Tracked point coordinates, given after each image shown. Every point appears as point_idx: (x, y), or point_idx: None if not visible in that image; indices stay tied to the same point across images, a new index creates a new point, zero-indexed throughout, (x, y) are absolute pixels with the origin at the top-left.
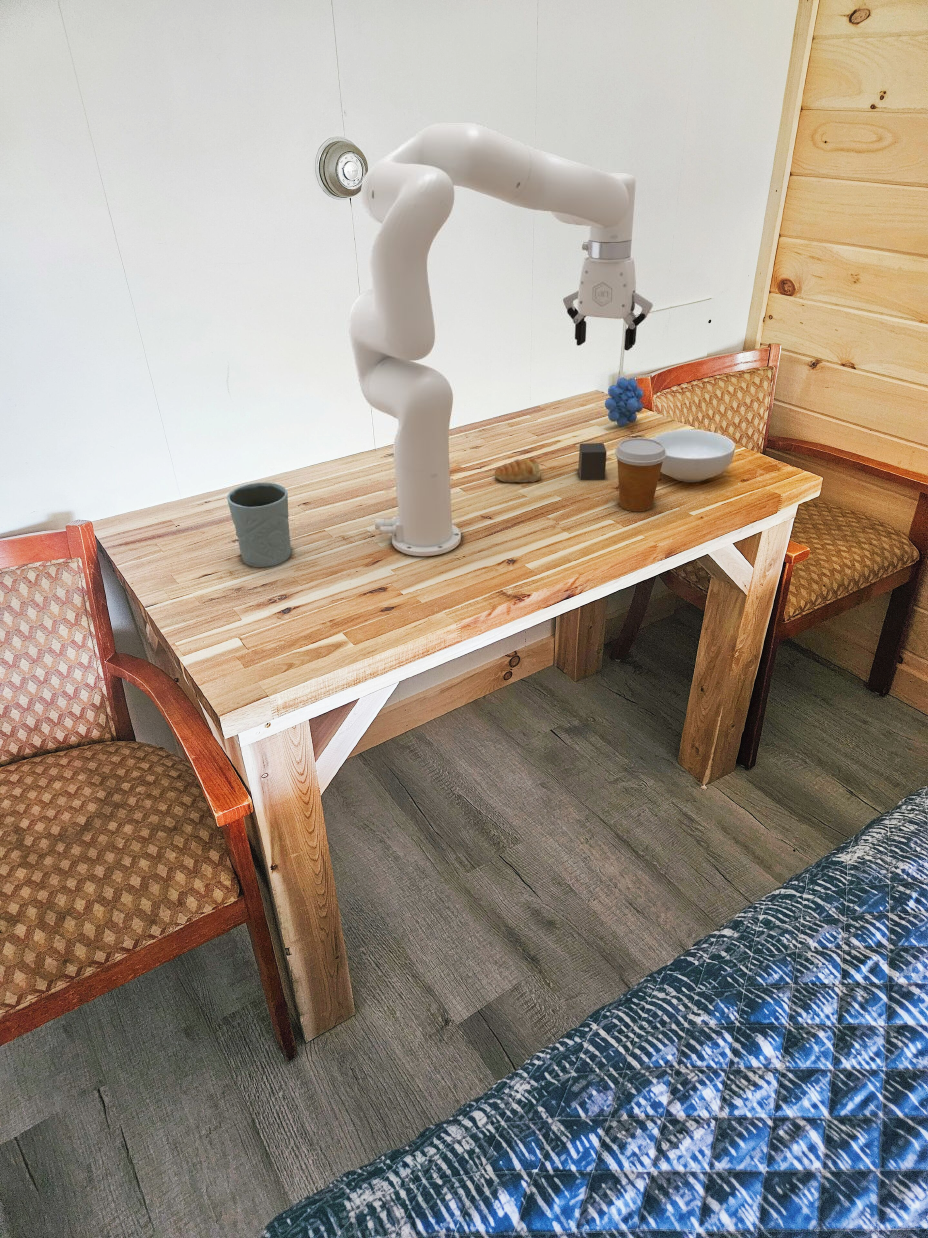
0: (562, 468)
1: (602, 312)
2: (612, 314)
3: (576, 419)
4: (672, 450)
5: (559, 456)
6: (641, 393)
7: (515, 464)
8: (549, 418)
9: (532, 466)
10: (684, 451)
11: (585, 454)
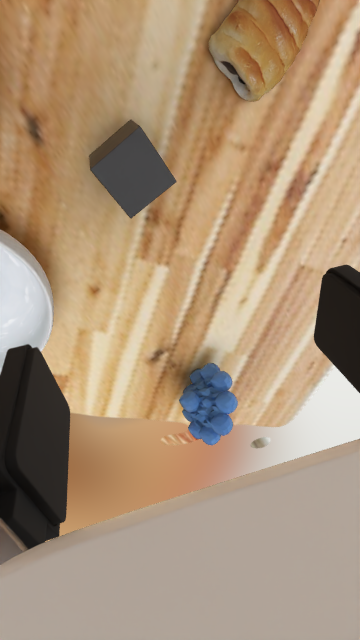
0: (196, 155)
1: (306, 529)
2: (130, 566)
3: (268, 353)
4: (36, 319)
5: (229, 209)
6: (191, 429)
7: (280, 9)
8: (307, 333)
9: (236, 33)
10: (20, 331)
11: (131, 131)
